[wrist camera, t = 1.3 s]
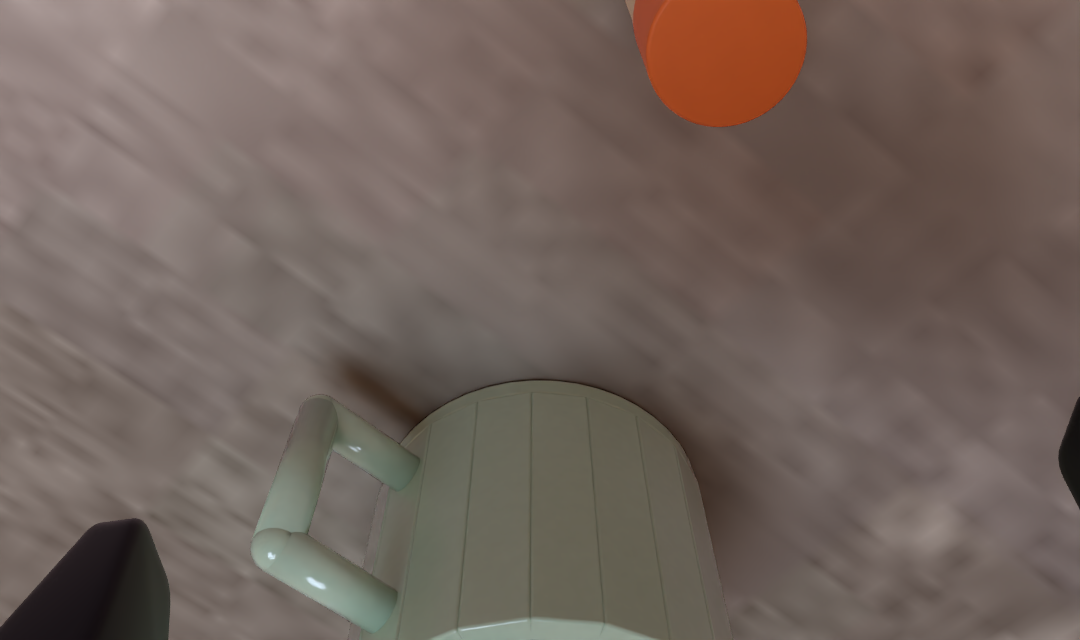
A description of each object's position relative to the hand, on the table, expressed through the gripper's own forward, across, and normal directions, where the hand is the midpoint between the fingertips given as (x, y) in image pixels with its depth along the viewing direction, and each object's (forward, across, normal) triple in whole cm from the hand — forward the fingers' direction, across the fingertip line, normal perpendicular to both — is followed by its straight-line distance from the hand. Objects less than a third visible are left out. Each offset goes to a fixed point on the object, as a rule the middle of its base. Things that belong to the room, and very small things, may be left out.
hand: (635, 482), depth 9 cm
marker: (+13, -4, -2) cm, 14 cm away
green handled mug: (+13, 0, +12) cm, 18 cm away
